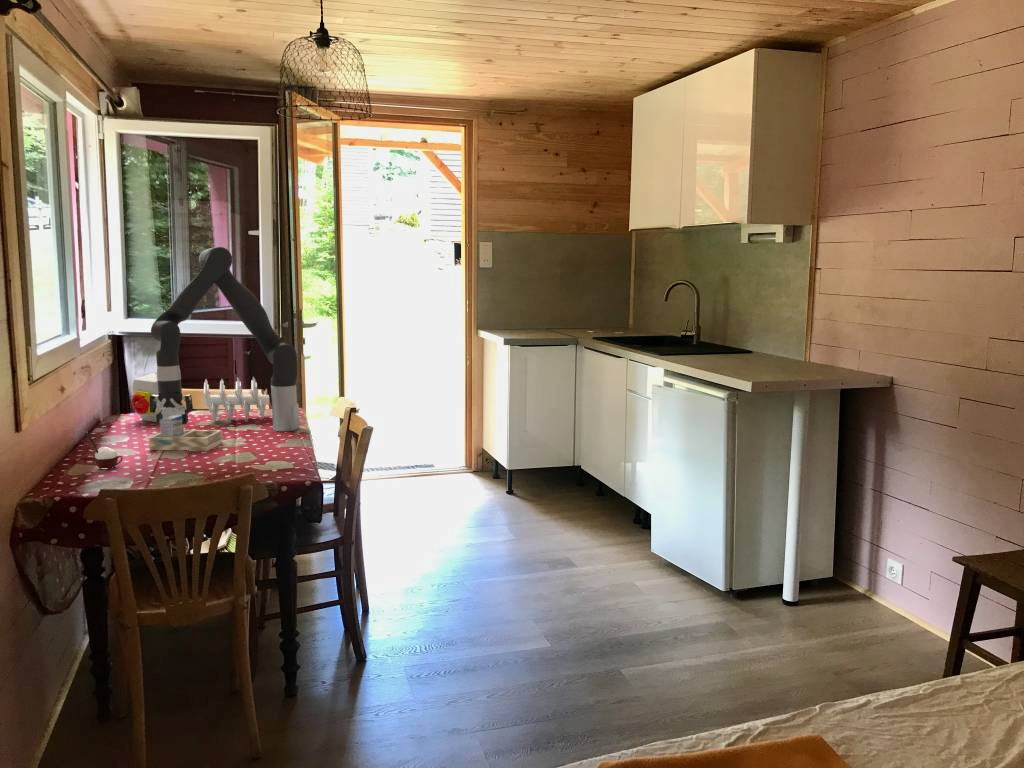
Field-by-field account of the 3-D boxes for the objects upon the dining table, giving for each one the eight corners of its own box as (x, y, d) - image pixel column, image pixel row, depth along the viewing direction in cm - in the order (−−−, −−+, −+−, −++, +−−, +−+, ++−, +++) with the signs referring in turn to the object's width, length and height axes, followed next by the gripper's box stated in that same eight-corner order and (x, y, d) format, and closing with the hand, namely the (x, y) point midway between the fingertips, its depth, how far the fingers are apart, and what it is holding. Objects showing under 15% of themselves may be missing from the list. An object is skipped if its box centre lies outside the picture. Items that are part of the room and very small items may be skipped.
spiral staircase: (269, 430, 326) (203, 431, 318) (268, 405, 340) (205, 405, 332) (270, 393, 316) (202, 393, 308) (268, 369, 330) (204, 368, 322)
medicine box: (173, 444, 276) (171, 419, 275) (160, 443, 277) (159, 419, 276) (184, 439, 284) (183, 415, 283) (172, 438, 285) (171, 414, 283)
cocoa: (123, 466, 255) (123, 428, 254) (119, 470, 249) (118, 432, 248) (91, 466, 253) (90, 429, 252) (85, 471, 247) (84, 432, 246)
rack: (222, 442, 286) (221, 430, 286) (206, 451, 273) (205, 438, 272) (167, 442, 287) (167, 429, 287) (149, 450, 274) (148, 437, 273)
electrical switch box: (129, 427, 323) (118, 379, 318) (161, 416, 335) (152, 370, 330) (152, 431, 315) (141, 382, 310) (184, 419, 328) (174, 372, 322)
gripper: (194, 376, 280) (197, 422, 283) (154, 376, 281) (157, 422, 283) (184, 380, 273) (187, 426, 275) (143, 380, 273) (147, 426, 276)
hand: (172, 424), depth 279 cm, fingers open, 8 cm apart
